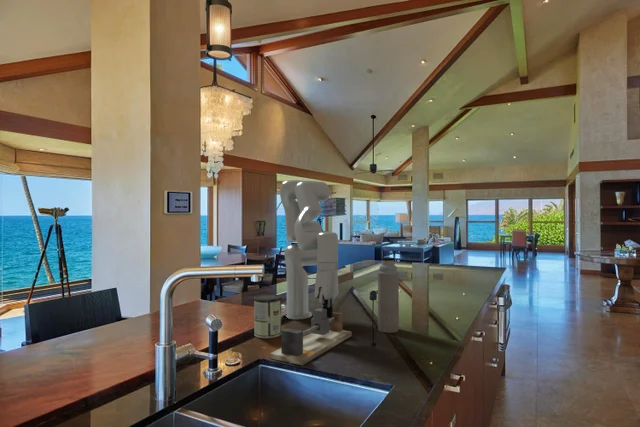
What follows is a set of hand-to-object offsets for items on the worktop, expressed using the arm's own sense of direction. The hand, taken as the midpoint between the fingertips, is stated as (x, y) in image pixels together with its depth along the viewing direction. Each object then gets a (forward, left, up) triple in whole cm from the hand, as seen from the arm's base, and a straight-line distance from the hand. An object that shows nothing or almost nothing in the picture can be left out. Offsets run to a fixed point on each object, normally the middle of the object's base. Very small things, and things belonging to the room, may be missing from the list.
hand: (327, 317), depth 144 cm
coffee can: (-22, -6, -8) cm, 24 cm away
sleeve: (0, -5, -4) cm, 7 cm away
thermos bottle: (+15, +22, -8) cm, 27 cm away
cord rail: (0, -9, -8) cm, 12 cm away
